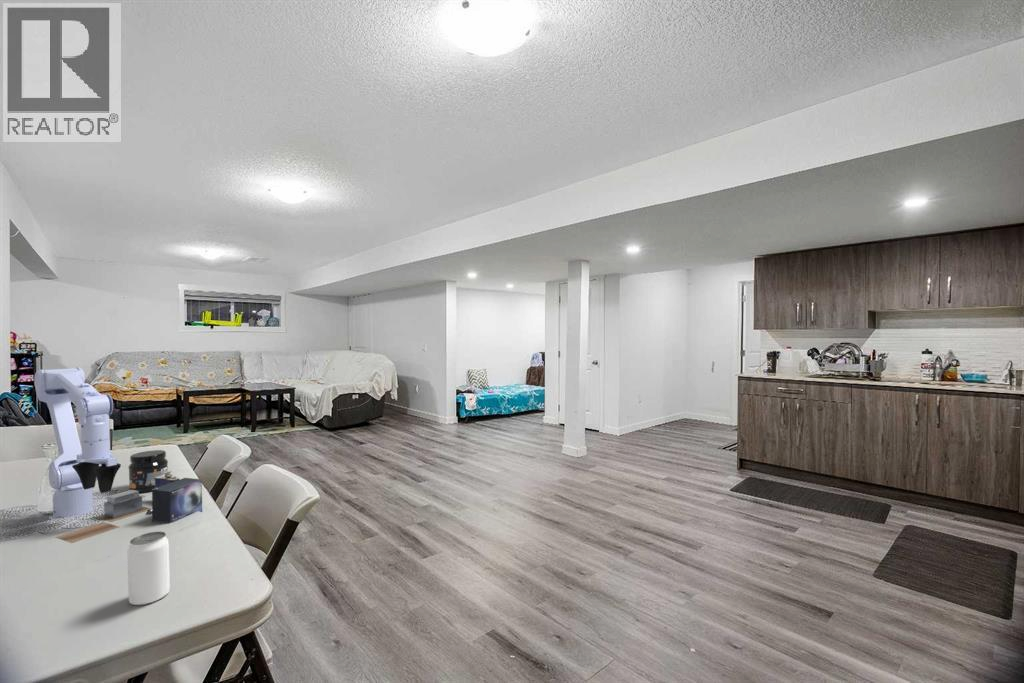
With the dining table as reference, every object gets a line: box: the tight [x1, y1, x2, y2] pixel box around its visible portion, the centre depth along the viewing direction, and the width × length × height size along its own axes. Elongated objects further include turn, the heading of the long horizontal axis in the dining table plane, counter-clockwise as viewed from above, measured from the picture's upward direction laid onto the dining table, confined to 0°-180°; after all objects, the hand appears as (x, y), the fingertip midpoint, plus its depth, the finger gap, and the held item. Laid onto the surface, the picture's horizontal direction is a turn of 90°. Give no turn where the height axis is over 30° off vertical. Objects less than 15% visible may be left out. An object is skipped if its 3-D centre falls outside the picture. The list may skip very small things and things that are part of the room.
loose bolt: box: [145, 508, 152, 516], centre depth 132 cm, size 6×3×3 cm, turn 86°
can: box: [127, 531, 171, 606], centre depth 92 cm, size 6×6×12 cm
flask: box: [154, 470, 180, 488], centre depth 141 cm, size 9×3×11 cm, turn 71°
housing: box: [103, 490, 143, 519], centre depth 132 cm, size 4×7×6 cm, turn 156°
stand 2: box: [95, 505, 152, 523], centre depth 132 cm, size 8×10×2 cm
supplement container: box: [128, 449, 169, 494], centre depth 157 cm, size 10×10×12 cm
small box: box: [151, 477, 203, 524], centre depth 130 cm, size 11×6×10 cm, turn 168°
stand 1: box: [54, 521, 120, 544], centre depth 119 cm, size 8×10×2 cm
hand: (97, 489), depth 125 cm, fingers open, 7 cm apart
